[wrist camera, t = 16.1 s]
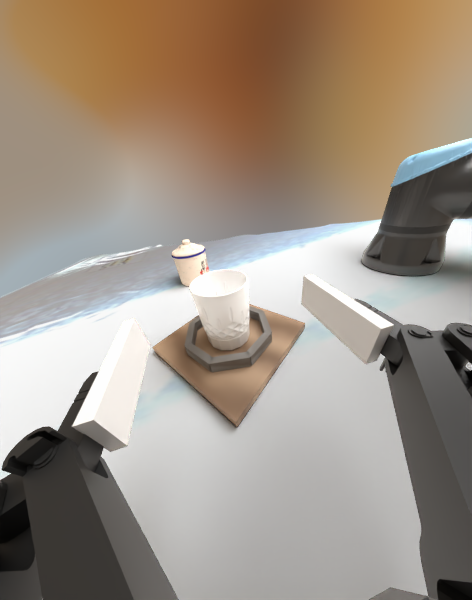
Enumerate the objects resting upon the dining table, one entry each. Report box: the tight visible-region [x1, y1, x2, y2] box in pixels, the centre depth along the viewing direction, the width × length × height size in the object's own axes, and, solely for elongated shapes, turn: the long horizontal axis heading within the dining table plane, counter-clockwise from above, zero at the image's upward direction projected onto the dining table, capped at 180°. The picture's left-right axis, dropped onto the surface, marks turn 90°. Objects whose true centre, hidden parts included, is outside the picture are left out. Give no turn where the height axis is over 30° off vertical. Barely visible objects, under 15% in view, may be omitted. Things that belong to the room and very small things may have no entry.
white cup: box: [189, 269, 250, 351], centre depth 26 cm, size 8×8×10 cm
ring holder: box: [153, 304, 305, 427], centre depth 28 cm, size 18×18×3 cm
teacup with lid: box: [172, 239, 209, 286], centre depth 50 cm, size 12×9×12 cm
